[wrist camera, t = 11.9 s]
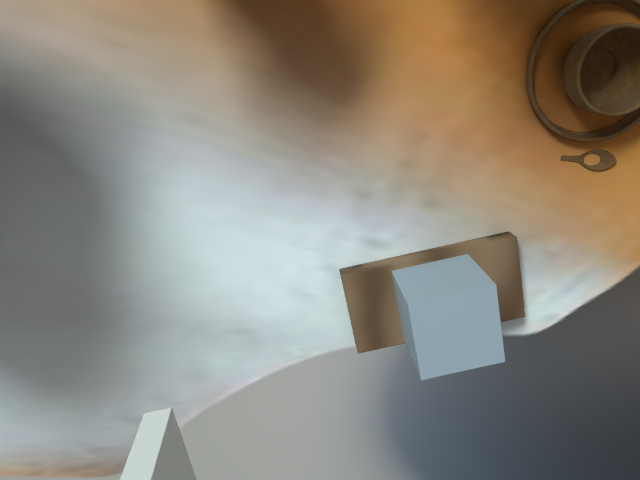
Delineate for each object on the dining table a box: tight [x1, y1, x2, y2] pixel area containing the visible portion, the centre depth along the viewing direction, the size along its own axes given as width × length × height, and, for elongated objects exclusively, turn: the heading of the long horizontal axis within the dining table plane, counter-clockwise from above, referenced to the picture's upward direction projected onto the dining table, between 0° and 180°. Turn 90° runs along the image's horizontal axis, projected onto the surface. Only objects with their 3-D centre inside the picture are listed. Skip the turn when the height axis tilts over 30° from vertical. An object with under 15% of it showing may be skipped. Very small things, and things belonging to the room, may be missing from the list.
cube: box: [391, 254, 505, 380], centre depth 47 cm, size 7×7×7 cm
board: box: [340, 232, 525, 353], centre depth 51 cm, size 16×8×2 cm, turn 102°
